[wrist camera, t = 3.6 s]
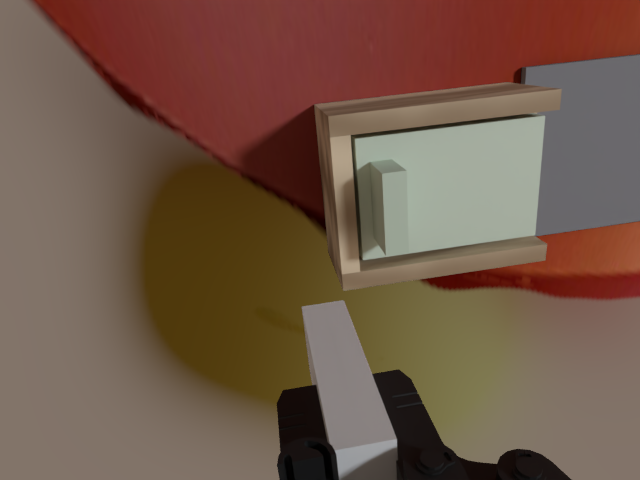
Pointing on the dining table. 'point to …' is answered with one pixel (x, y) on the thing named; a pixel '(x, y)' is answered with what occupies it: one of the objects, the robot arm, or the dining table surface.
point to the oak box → (399, 114)
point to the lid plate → (447, 184)
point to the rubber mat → (589, 144)
